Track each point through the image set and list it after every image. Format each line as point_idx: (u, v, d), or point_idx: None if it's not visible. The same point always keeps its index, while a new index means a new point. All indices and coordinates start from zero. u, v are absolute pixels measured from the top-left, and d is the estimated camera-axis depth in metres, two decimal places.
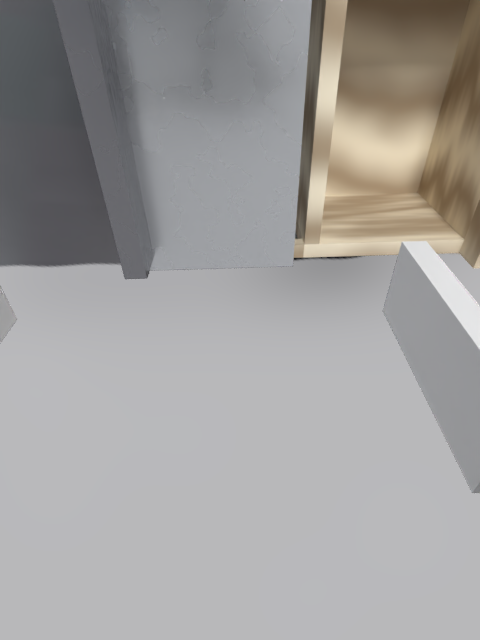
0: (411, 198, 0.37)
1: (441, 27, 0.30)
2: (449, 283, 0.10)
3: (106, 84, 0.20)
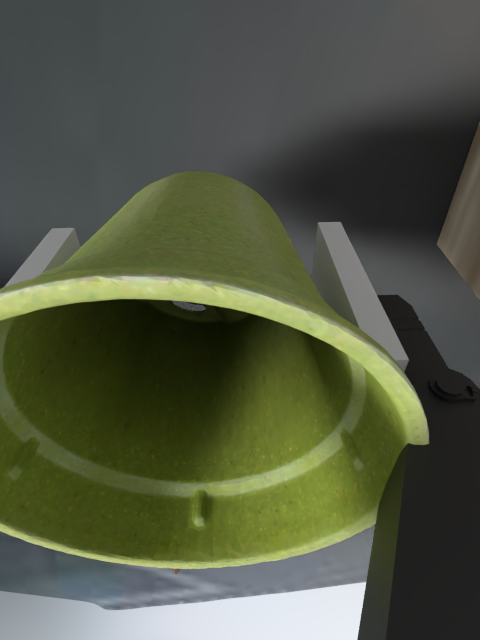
0: None
1: None
2: (346, 256, 0.11)
3: None
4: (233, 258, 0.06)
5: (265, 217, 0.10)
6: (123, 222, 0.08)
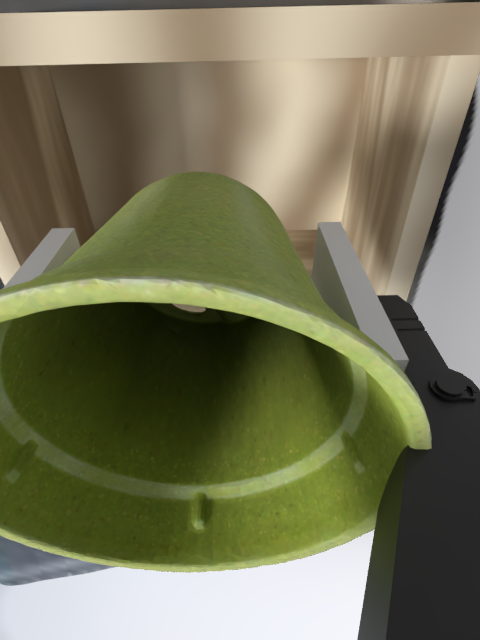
0: (374, 60, 0.20)
1: (135, 74, 0.22)
2: (346, 256, 0.11)
3: None
4: (233, 260, 0.06)
5: (265, 218, 0.10)
6: (122, 223, 0.08)
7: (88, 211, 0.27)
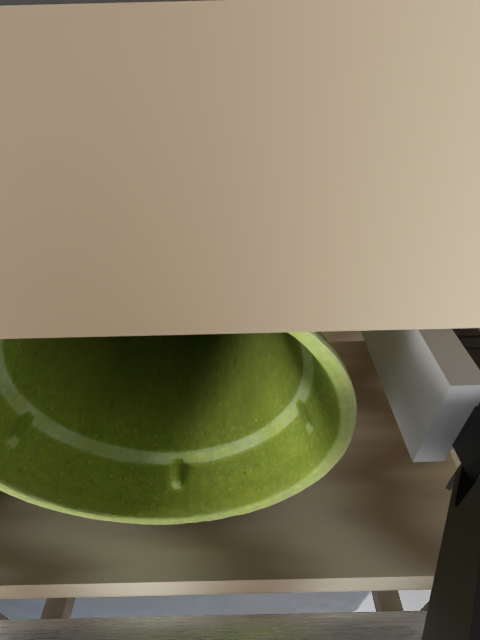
0: None
1: None
2: None
3: None
4: None
5: None
6: None
7: None
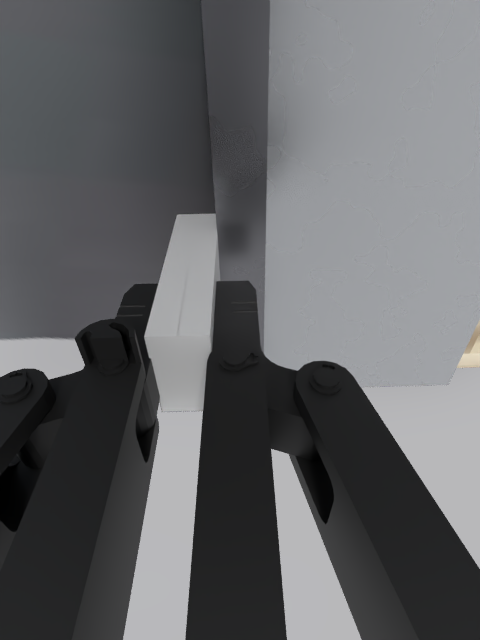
0: None
1: None
2: (206, 245, 0.12)
3: (266, 178, 0.12)
4: None
5: None
6: None
7: None
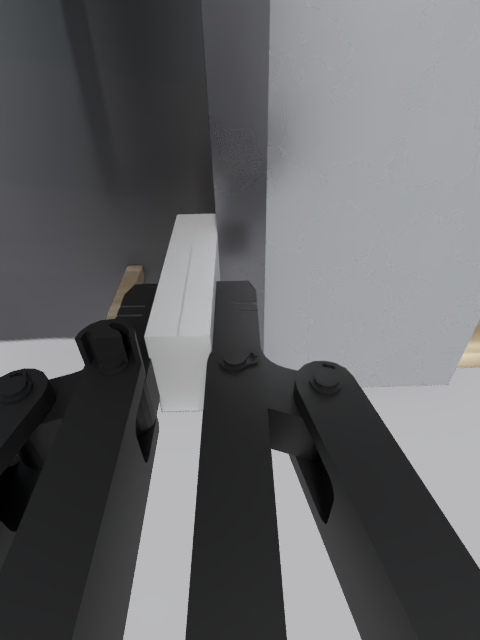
0: None
1: None
2: (206, 245, 0.12)
3: (266, 178, 0.12)
4: None
5: None
6: None
7: None
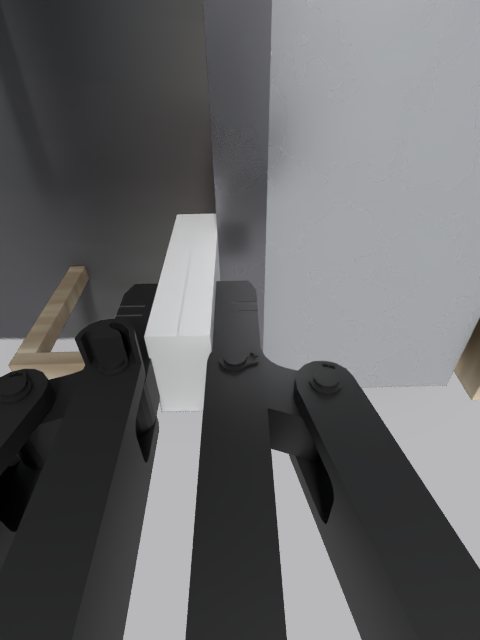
0: None
1: None
2: (206, 245, 0.12)
3: (267, 179, 0.12)
4: None
5: None
6: None
7: None
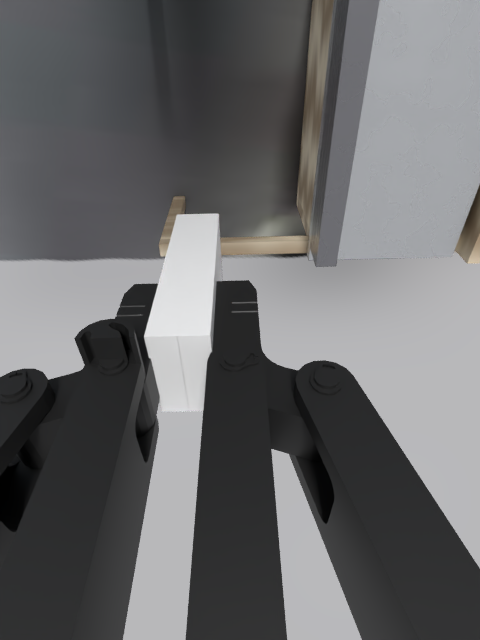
0: None
1: None
2: (206, 245, 0.12)
3: (364, 92, 0.23)
4: None
5: None
6: None
7: None
